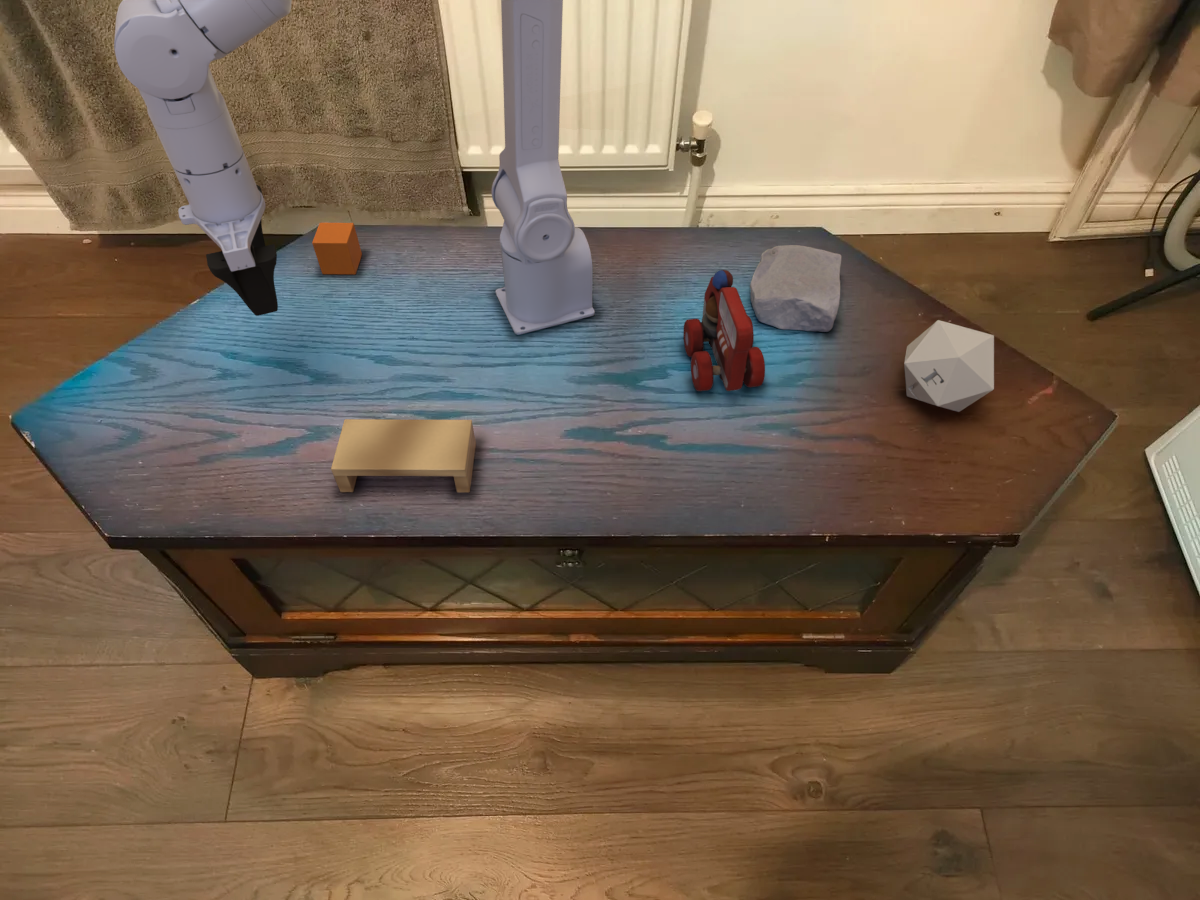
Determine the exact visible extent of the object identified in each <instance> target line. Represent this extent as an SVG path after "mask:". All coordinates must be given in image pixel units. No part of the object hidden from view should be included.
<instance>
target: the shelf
mask: <svg viewBox="0 0 1200 900" xmlns="http://www.w3.org/2000/svg"><path fill="white" fill-rule="evenodd" d="M475 435H476V434H475V430H474V423H473V420H472V419H402V418H401V419H400V418H399V419H398V418H397V419H395V418H393V419H392V418H391V419H385V418H384V419H383V418H382V419H379V418H378V419H377V418H376V419H371V418H370V419H369V418H368V419H367V418H365V419H364V418H345V419H344V420H343V424H342V427H341V431H340V434H339V438H338V442H337V446H336V448H335V453H334V457H333V460H332V463H331V467H330V470H331V473H332V475H333V477H334V480H335V482H336V485H337V487H338V490H339V492H340V493H354V490H355V486H356V482H357V478H358V477H365V476H366V477H453V480H454V485H455V490H456V493H470V492H471V486H472V478H473V470H474V462H475V454H476V446H477V443H476V442H477V441H476V436H475Z"/></svg>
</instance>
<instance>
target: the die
mask: <svg viewBox="0 0 1200 900" xmlns="http://www.w3.org/2000/svg"><path fill="white" fill-rule="evenodd" d="M904 356H905V357H904V361H903V362H904V363H903V364H904V378H905V389H906V391H905V393H906V397H908V398H911V399H914V400H918V401H921V402H923V403H927V404H930V405H933V406H936V407H940V408H943V409H947V410H950V411H954V412H957V413H960V412H961V411H963V410H964V409H966V408H968V407H969V406H971V405H972V404H974V403H975V402H977V401H979V400H980V399H981V398H983V397H985V396H986V395H988V394H989V393H991V392H993V390H995V335H994V334H990V333H987V332H984V331H979V330H977V329H973V328H968V327H964V326H961V325H958V324H954V323H952V322H951V323H950V322H948V321H943V320H940V319H938V320H936V321H935V322H934V323H933V324H931V325H930V326H929V327H928V328H926V330H924V331H923V332H922V333H921V334H920V335H918V336H917V337H916V338H914V340H912V341H911V342H909V344H908V345H906V351H905V355H904Z"/></svg>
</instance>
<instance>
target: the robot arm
mask: <svg viewBox="0 0 1200 900" xmlns="http://www.w3.org/2000/svg"><path fill="white" fill-rule="evenodd" d="M292 5H293V0H121V2H120V3H119V5H118V6H117V12H116V15H115V28H114V30H115V31H114V40H113V41H114V42H113V48H114V49H113V50H114V55H115V58H116V62H117V65H118V67H119V69H120V71H121V73H122V74H123V76H124V77H125V78H126V79H127V80H128V81H129V82H130V83H131V84H132V85H133V86H134V87H136V88H137V89H138V92H139V95H140V96H141V97H142V99H143V102H144V104H145V106H146V111H147V115H148V117H149V120H150V122H151V123H152V126H153V129H154V130H155V132H156V134H157V137H158V139H159V141H160V144H161V145H162V148H163V150H164V153H165V154H166V157H167V159H168V161H169V163H170V165H171V167H172V170H173V171H174V174H175V176H176V178H177V180H178V183H179V185H180V187H181V189H182V191H183V194H184V196H185V198H186V200H187V202H188V204H186V205H181V206H180V207H179V208H178V210H177V212H178V218H179V220H180V222H181V224H182V225H185V226H187V225H197V226H198V228H200V229H201V230H202V231H203V233H205V234H206V235H207V236H208V237H209V239H211V241H213V242H214V243H215V244H216V245H217V247H218V248H220V250H221V251H215V252H209V253H207V254H205V257H206V265H207V267H208V270H209V271H210V273H211V274H212V275H213V276H214V277H215V278H217V279H218V280H220V281H222V282H223V283H225V284H226V285H228V286H229V287H230V288H231V289H232V290H233V291H234V292H235V293H236V294H237V295H238V296H239V298H240V299H241V300H242V302H244V304H245V305H246V307H247V308H248V309H249V310H250V311H251V313H252V314H254V315H255V316H256V317H259V316H262V315H263V316H264V315H266V314H272V313H275V312H276V313H277V312H278V310H279V304H278V296H277V292H276V286H275V269H276V266H277V261H278V260H277V259H278V253H277V249H276V245H275V243H273V244H268V245H266V242H265V237H264V232H263V225H262V218H263V215H264V212H265V211H266V201H265V198H264V194H263V191H262V187H261V186H260V185H258V184H257V183H256V181H255V178H254V175H253V173H252V170H251V167H250V164H249V162H248V158H247V156H246V154H245V151H244V148H243V146H242V143H241V141H240V138H239V135H238V133H237V130H236V127H235V124H234V121H233V119H232V116H231V114H230V111H229V108H228V106H227V104H226V100H225V98H224V96H223V94H222V92H221V91H220V90H219V89H218V86H217V84H216V81H215V79H214V76H213V73H212V70H211V68H210V64H211V63H212V62H214V61H217V60H221V59H223V58H225V57H226V56H228V55H229V54H231V53H233V52H234V51H235V50H237V49H238V48H240V47H241V46H243V45H244V44H246V43H248V42H249V41H250V40H252V39H253V38H255V37H256V36H258V35H260V34H261V33H262V32H264V31H266V30H267V29H268V28H270V27H271V26H273V25H275V24H276V23H278V22H279V21H280V20H282V19H283V18H285V17H287V16H288V15H289V14H290V13H291V12H292V11H291V10H292ZM563 7H564V0H500V8H501V9H500V13H501V47H502V48H501V49H502V50H501V51H502V81H503V82H502V85H503V87H502V89H503V116H504V117H503V119H504V121H503V122H504V148H503V150H501V152H500V153H499V154H498V155H499V157H498V158H499V166H498V171H497V173H496V176H495V177H494V179H493V182H492V184H491V198H492V202H493V204H494V206H495V207H496V208H497V210H498V211H499V212H500V214H501V216H502V219H503V224H502V228H501V231H500V235H499V246H500V255H501V264H502V274H503V282H504V287H500V288H496V289H495V296H496V298H497V299H498V302H499V304H500V306H501V309H502V310H503V312H504V314H505V316H506V318H507V320H508V323H509V324H510V326H511V329H512V331H513V332H514V334H515V335H523V334H527V333H532V332H535V331H540V330H543V329H546V328H552V327H555V326H558V325H562V324H566V323H570V322H571V323H572V322H575V321H579V320H582V319H586V318H590V317H594V316H595V314H596V313H595V308H594V307H593V269H594V268H593V267H594V266H593V259H592V253H591V247H590V245H589V241H588V239H587V237H586V235H585V233H584V231H583V230H582V229H581V228H580V227H578V226H575V222H574V219H573V217H572V216H571V214H570V212H569V210H568V209H569V208H568V193H567V189H566V185H565V184H566V183H565V181H564V177H563V174H562V169H561V166H560V161H559V160H560V159H559V150H560V149H559V147H560V117H561V116H560V115H561V114H560V113H561V112H560V111H561V83H562V82H561V78H562V46H563V45H562V44H563V10H564V9H563Z"/></svg>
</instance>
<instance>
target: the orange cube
mask: <svg viewBox="0 0 1200 900" xmlns="http://www.w3.org/2000/svg"><path fill="white" fill-rule="evenodd" d="M311 244H312V246H313V250H314V253H315V257H316V259H317V262H318V265H319V268H320V272H321V274H322V275H357V271H358V270H359V269H358V268H359V265H360V263H361V259H362V256H363V252H362V249H361V245H360V241H359V238H358V234H357V230H356V227H355V223H354V222H319V223H318V227H317V229H316V231H315V235H314V237H313V239H312V243H311Z"/></svg>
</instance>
